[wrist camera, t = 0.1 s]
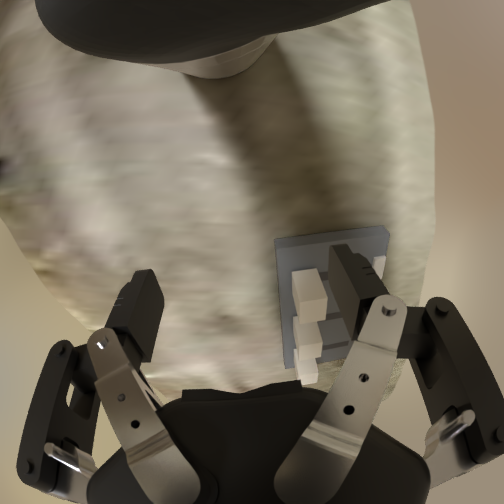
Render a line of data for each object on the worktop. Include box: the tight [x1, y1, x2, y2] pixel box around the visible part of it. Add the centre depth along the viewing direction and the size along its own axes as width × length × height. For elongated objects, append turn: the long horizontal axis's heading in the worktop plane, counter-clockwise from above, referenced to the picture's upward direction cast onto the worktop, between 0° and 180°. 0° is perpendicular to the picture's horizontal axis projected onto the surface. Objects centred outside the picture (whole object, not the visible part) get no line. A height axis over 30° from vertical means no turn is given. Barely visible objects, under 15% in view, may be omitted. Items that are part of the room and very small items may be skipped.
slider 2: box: [294, 349, 318, 385], centre depth 39 cm, size 4×3×5 cm
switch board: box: [274, 226, 390, 369], centre depth 38 cm, size 26×14×2 cm, turn 7°
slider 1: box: [292, 268, 328, 324], centre depth 30 cm, size 4×3×5 cm
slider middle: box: [293, 316, 323, 361], centre depth 35 cm, size 4×3×5 cm
